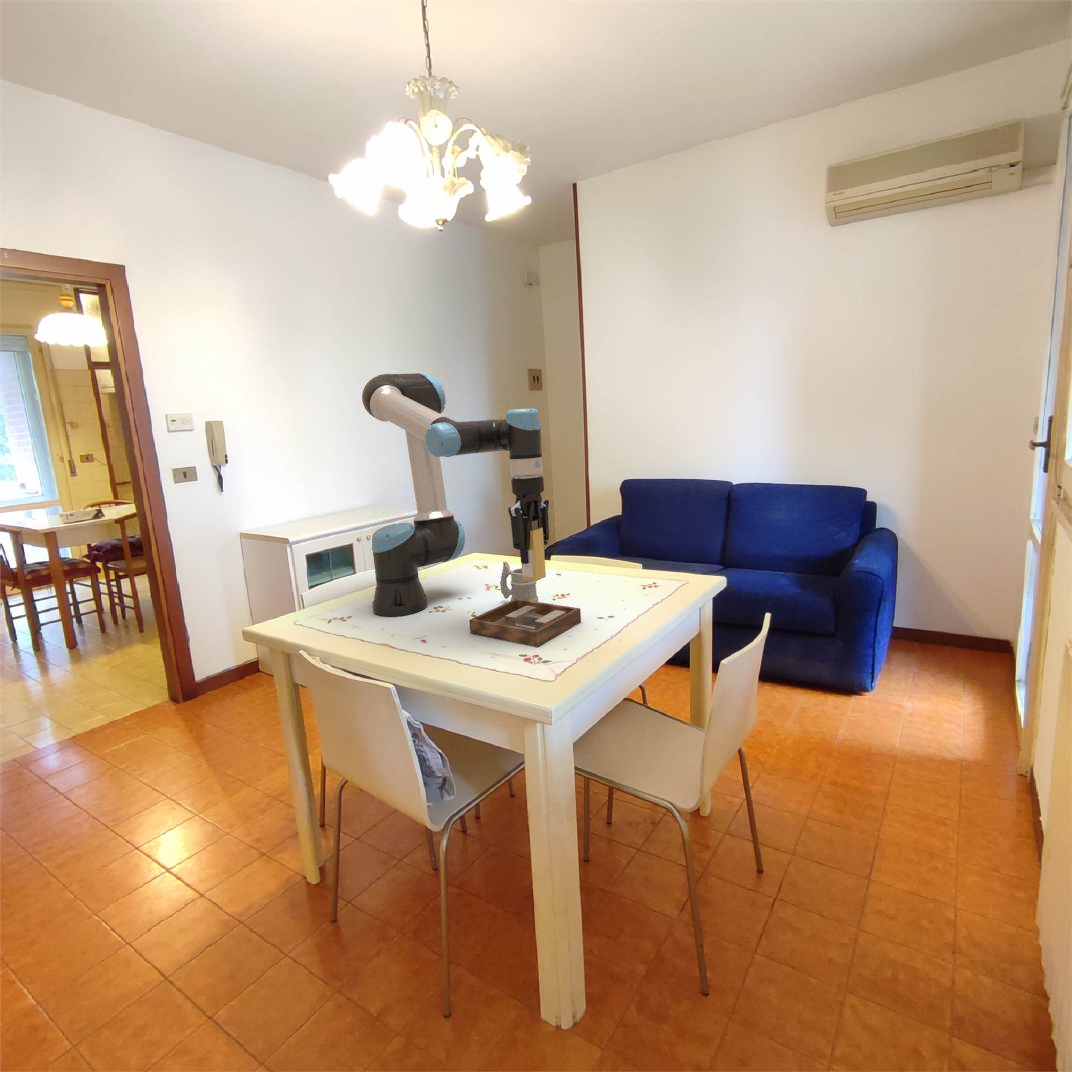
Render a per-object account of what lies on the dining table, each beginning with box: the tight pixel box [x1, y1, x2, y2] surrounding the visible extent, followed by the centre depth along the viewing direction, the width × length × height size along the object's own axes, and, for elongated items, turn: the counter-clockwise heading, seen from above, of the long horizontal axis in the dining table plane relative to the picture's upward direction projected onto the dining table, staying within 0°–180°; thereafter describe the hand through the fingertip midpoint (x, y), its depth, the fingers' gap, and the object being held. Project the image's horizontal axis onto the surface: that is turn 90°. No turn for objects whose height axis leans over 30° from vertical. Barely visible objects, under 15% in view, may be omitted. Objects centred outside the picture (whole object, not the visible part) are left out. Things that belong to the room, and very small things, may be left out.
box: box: [469, 599, 582, 648], centre depth 153 cm, size 20×19×4 cm
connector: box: [522, 520, 547, 582], centre depth 148 cm, size 4×4×14 cm
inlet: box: [505, 605, 566, 630], centre depth 152 cm, size 12×9×3 cm
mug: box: [499, 560, 539, 602], centre depth 172 cm, size 8×12×12 cm, turn 55°
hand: (533, 573), depth 149 cm, fingers closed on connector, 4 cm apart
